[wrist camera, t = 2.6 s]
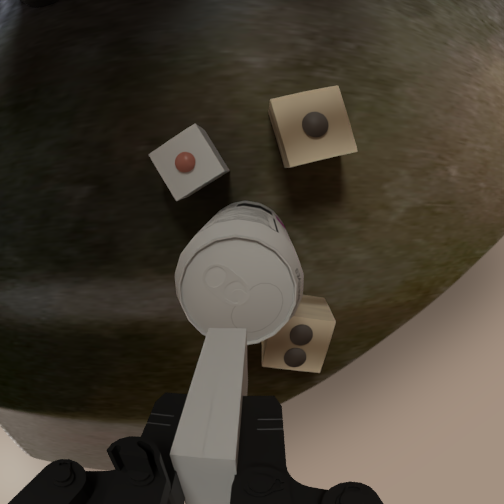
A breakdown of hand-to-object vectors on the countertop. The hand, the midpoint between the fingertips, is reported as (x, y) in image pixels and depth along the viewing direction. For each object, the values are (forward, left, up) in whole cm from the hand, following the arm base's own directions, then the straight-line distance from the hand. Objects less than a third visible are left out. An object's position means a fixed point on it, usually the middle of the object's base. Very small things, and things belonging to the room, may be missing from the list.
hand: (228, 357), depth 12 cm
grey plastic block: (-8, -5, -21) cm, 23 cm away
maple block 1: (-11, +6, -21) cm, 25 cm away
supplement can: (0, 0, -22) cm, 22 cm away
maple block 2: (+9, +5, -21) cm, 24 cm away
